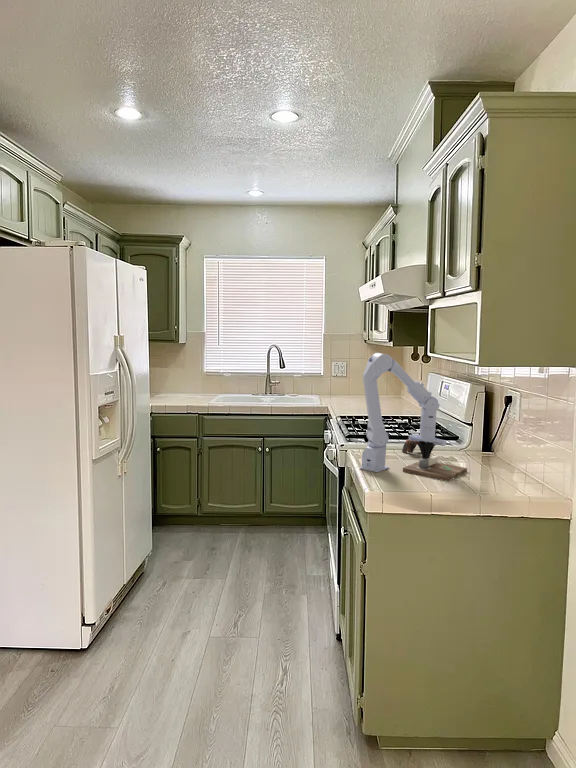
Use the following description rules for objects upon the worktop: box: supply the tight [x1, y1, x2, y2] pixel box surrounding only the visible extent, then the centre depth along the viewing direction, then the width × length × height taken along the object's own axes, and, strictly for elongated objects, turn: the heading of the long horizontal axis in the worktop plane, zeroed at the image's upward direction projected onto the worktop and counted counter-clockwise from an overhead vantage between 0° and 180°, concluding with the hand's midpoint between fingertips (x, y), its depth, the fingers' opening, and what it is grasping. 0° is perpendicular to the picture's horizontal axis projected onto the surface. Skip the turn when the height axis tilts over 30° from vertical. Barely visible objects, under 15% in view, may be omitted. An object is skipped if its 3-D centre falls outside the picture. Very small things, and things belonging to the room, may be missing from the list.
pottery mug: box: [401, 438, 419, 454], centre depth 246 cm, size 12×10×8 cm
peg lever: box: [418, 455, 439, 468], centre depth 218 cm, size 13×4×3 cm, turn 142°
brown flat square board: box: [402, 461, 468, 482], centre depth 216 cm, size 18×18×2 cm
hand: (425, 461), depth 221 cm, fingers closed
